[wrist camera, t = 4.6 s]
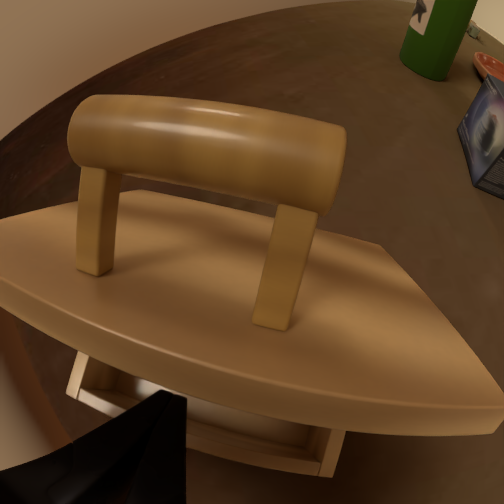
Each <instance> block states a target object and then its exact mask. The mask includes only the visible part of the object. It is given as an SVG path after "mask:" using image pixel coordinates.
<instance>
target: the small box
mask: <svg viewBox="0 0 504 504" xmlns="http://www.w3.org/2000/svg"><path fill="white" fill-rule="evenodd" d="M457 130H458V133H459V136H460V139H461V142H462V146H463V149H464V152H465V156H466V159H467V163H468V167H469V170H470V174H471V178H472V183H473V186H475V187H477V188H479V189H481V190H484V191H486V192H488V193H491V194H493V195H495V196H498V197H500V198H502V199H504V82H503V81H501V80H499V79H498V78H496V77H494V76H492V75H490V74H489V73H487V76H486V78H485V80H484V82H483V84H482V85H481V87H480V89H479V91H478V93H477V95H476V97H475V99H474V100H473V102H472V104H471V106H470V108H469V109H468V111H467V113H466V115H465V116H464V118H463V120H462V121H461V123H460V125H459V126H458V128H457Z"/></svg>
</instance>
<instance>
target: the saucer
mask: <svg viewBox="0 0 504 504" xmlns="http://www.w3.org/2000/svg"><path fill="white" fill-rule="evenodd" d="M473 63H474V65H475V67H476V68H477V70H478V72H479V74H480V76H481V77H482V78H483V80H485V78H486V76H487V73H489V74H490V75H492V76H494V77H496V78H498V79H499V80H501V81H503V82H504V64H503V63H501V62H500V61H498V60H496V59H495V58H493V57H491V56H489V55H487V54H484V53H481V52H476V53H475V54H474V57H473Z"/></svg>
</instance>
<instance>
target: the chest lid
mask: <svg viewBox="0 0 504 504" xmlns="http://www.w3.org/2000/svg"><path fill="white" fill-rule="evenodd" d="M67 142H68V149H69V153H70V155H71V157H72V159H73V160H74V162H75V163H76V164H77V165H79V166H80V167H82V168H81V177H80V186H79V197H78V201H76V202H71V203H67V204H62V205H58V206H53V207H49V208H45V209H40V210H36V211H32V212H28V213H24V214H20V215H16V216H12V217H9V218H5V219H1V220H0V306H1V307H2V308H4V309H5V310H7V311H9V312H10V313H12V314H13V315H15V316H16V317H18V318H20V319H21V320H23V321H25V322H26V323H28V324H30V325H31V326H33V327H35V328H37V329H38V330H40V331H42V332H44V333H45V334H47V335H49V336H51V337H53V338H55V339H56V340H58V341H60V342H62V343H64V344H66V345H68V346H70V347H72V348H74V349H76V350H78V351H80V352H82V353H84V354H86V355H88V356H90V357H93V358H95V359H97V360H99V361H101V362H103V363H106V364H108V365H110V366H112V367H115V368H117V369H119V370H122V371H124V372H127V373H129V374H131V375H134V376H136V377H139V378H141V379H144V380H147V381H149V382H152V383H155V384H157V385H160V386H163V387H165V388H168V389H171V390H174V391H177V392H180V393H183V394H186V395H189V396H192V397H195V398H198V399H202V400H205V401H208V402H212V403H215V404H218V405H222V406H225V407H229V408H233V409H237V410H240V411H244V412H248V413H252V414H257V415H261V416H265V417H270V418H274V419H279V420H284V421H289V422H294V423H300V424H305V425H311V426H317V427H323V428H330V429H337V430H345V431H354V432H363V433H374V434H387V435H404V436H465V435H482V434H492V433H493V432H494V431H495V430H496V429H497V428H498V426H499V425H500V424H501V422H502V421H503V420H504V393H503V392H502V390H501V389H500V387H499V386H498V384H497V383H496V382H495V380H494V379H493V377H492V376H491V375H490V373H489V372H488V371H487V369H486V368H485V366H484V365H483V364H482V362H481V361H480V360H479V359H478V357H477V356H476V355H475V353H474V352H473V351H472V349H471V348H470V347H469V346H468V344H467V343H466V342H465V340H464V339H463V338H462V337H461V335H460V334H459V333H458V332H457V331H456V329H455V328H454V327H453V326H452V324H451V323H450V322H449V321H448V320H447V318H446V317H445V316H444V315H443V314H442V313H441V311H440V310H439V309H438V308H437V307H436V306H435V304H434V303H433V302H432V301H431V300H430V299H429V297H428V296H427V295H426V294H425V293H424V292H423V291H422V290H421V288H420V287H419V286H418V285H417V284H416V283H415V282H414V281H413V280H412V279H411V277H410V276H409V275H408V274H407V273H406V272H405V271H404V270H403V269H402V268H401V267H400V266H399V265H398V264H397V262H396V261H395V260H394V259H393V258H392V257H391V256H390V255H389V254H388V253H387V252H386V251H385V250H384V249H383V248H382V247H381V246H380V245H377V244H374V243H370V242H366V241H363V240H359V239H355V238H351V237H347V236H344V235H340V234H336V233H332V232H328V231H324V230H320V229H316V225H317V221H318V217H319V216H326V215H327V214H328V212H329V211H330V209H331V207H332V205H333V202H334V200H335V197H336V194H337V190H338V187H339V183H340V180H341V176H342V171H343V167H344V162H345V156H346V149H347V132H346V129H345V128H343V127H342V126H339V125H335V124H331V123H327V122H323V121H319V120H315V119H311V118H306V117H302V116H297V115H293V114H288V113H283V112H278V111H272V110H267V109H262V108H256V107H250V106H243V105H237V104H230V103H223V102H215V101H206V100H197V99H187V98H175V97H162V96H142V95H93V96H91V97H88V98H87V99H85V100H84V101H83V102H81V103H80V105H79V106H78V107H77V108H76V110H75V111H74V113H73V115H72V118H71V120H70V123H69V128H68V134H67ZM122 174H123V175H129V176H135V177H140V178H146V179H152V180H157V181H163V182H168V183H173V184H178V185H184V186H189V187H194V188H199V189H204V190H209V191H213V192H218V193H223V194H228V195H232V196H237V197H241V198H246V199H250V200H255V201H259V202H264V203H268V204H272V205H277V210H276V215H275V218H271V217H267V216H263V215H258V214H254V213H250V212H245V211H241V210H236V209H232V208H227V207H223V206H218V205H214V204H209V203H205V202H200V201H195V200H191V199H186V198H181V197H176V196H171V195H166V194H161V193H156V192H151V191H146V190H141V189H140V190H134V191H128V192H123V193H120V188H121V180H122Z"/></svg>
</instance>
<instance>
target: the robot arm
mask: <svg viewBox="0 0 504 504" xmlns="http://www.w3.org/2000/svg"><path fill="white" fill-rule="evenodd" d="M187 401H188V400H187V398H186V397H183V396H180V395H177V394H175V395H174V394H173V393H172V392H169V391H166V390H163V389H161V390H158V391H157V392H155V393H154V394H152V395H151V396H149V397H147V398H146V399H144V400H143V401H141V402H139V403H138V404H136V405H135V406H133V407H131V408H130V409H128V410H126V411H125V412H123V413H121V414H120V415H118V416H116V417H115V418H113V419H111V420H110V421H108V422H106V423H105V424H103V425H101V426H99V427H98V428H96V429H94V430H93V431H91V432H89V433H87V434H86V435H84V436H82V437H80V438H78V439H77V440H75V441H73V443H69V444H67V445H66V446H64V447H62V448H60V449H58V450H56V451H54V452H52V453H50V454H48V455H45V456H43V457H40V458H38V459H35V460H32V461H29V462H27V463H24V464H21V465H18V466H15V467H12V468H8V469H5V470H2V471H0V504H186V431H187Z"/></svg>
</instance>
